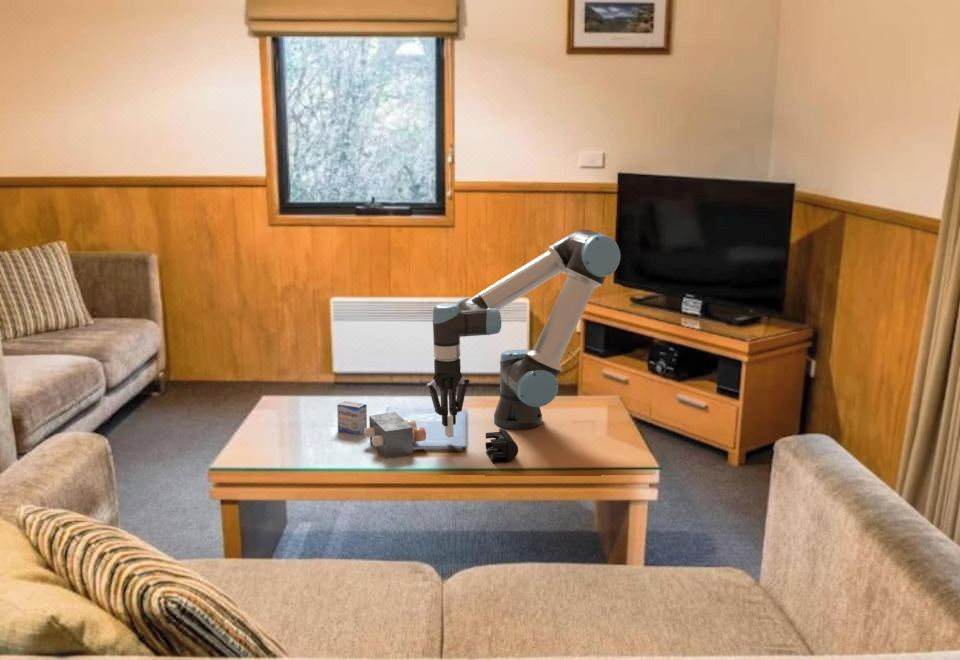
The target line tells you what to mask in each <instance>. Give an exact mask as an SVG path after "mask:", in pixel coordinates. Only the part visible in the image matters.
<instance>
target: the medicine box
mask: <svg viewBox="0 0 960 660" xmlns="http://www.w3.org/2000/svg"><path fill="white" fill-rule="evenodd" d="M336 407H337V408H336V409H337V410H336V411H337V431H338V433H339V432H340V433H345V434H353V435H359V436H360V435H362V434H364V429H365V428H368V425H367V423H368V421H367V420H368V417H367V416H368V414H367V404H365V403H359V402H353V401H347V400H345V401H341V402H339V403H338V404H337V405H336Z"/></svg>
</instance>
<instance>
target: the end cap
mask: <svg viewBox="0 0 960 660" xmlns="http://www.w3.org/2000/svg"><path fill="white" fill-rule="evenodd" d="M485 439H490V441H487V442H485V449H486V450H485V453H486V455H487V457H488V458H489V460H490V461H491V463H492V464H494V465H497V464H508V463H510V462H512V461H513V460H514V459H515V458H516V457H517V456H518V454H519V446H518V444H517V442H516V441H515V440H514V439H513V438H512V436H511V435H510V433H509V432H508V431H507V430H506V429H505V428H499V429H498V431H495V432H494V431H493V432H486V433H485Z"/></svg>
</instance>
